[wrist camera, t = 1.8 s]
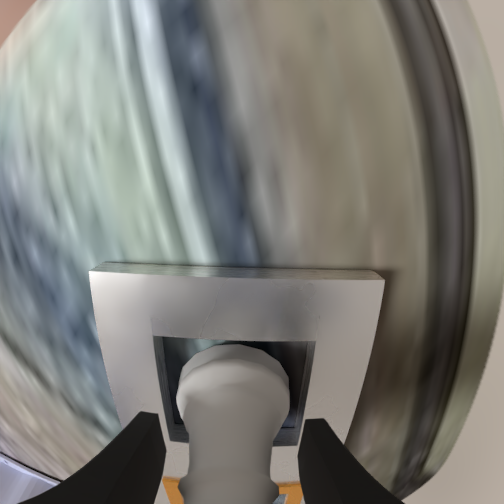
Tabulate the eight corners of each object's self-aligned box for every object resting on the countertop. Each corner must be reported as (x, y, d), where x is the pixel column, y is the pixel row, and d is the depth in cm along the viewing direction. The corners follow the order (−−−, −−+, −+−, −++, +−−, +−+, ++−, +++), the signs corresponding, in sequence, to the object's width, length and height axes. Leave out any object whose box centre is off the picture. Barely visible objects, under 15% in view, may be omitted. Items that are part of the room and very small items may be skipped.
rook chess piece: (308, 387, 12) (354, 556, 4) (228, 432, 12) (220, 584, 5) (241, 315, 11) (235, 522, 3) (159, 372, 12) (95, 537, 4)
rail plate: (168, 518, 15) (165, 532, 13) (103, 262, 10) (85, 272, 9) (302, 522, 15) (304, 536, 14) (371, 270, 11) (387, 281, 9)
